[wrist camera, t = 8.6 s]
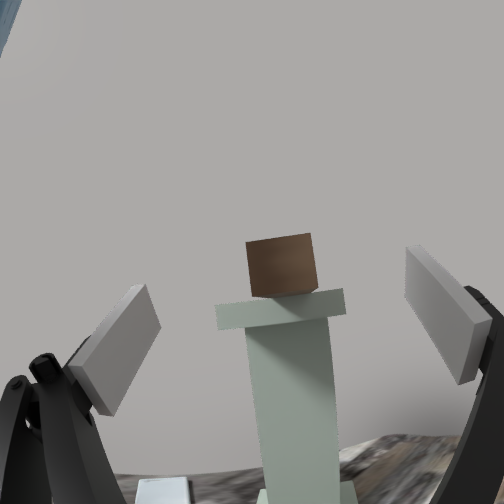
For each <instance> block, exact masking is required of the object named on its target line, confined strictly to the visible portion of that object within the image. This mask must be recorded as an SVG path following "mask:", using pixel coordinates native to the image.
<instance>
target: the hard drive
mask: <svg viewBox="0 0 504 504" xmlns="http://www.w3.org/2000/svg"><path fill="white" fill-rule="evenodd" d="M135 504H191V502H190V494H189V485H188V479H187V477H174V478H160V479H141V480H139V485H138V490H137V495H136V501H135Z"/></svg>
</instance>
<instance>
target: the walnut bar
mask: <svg viewBox="0 0 504 504" xmlns="http://www.w3.org/2000/svg"><path fill="white" fill-rule="evenodd" d="M246 249H247V259H248V266H249V275H250V284H251V292H252V297H262V298H279V297H286V296H293V295H300V294H308V293H311V292H313V291H314V290H315V289H317V288H318V281H317V274H316V267H315V260H314V254H313V247H312V240H311V234H310V233H305V234H299V235H292V236H285V237H278V238H271V239H265V240H258V241H251V242H246Z"/></svg>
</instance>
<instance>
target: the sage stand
mask: <svg viewBox="0 0 504 504" xmlns="http://www.w3.org/2000/svg"><path fill="white" fill-rule="evenodd" d="M215 308H216V317H217V326H218V330H225V329H236V328H245V335H246V343H247V351H248V359H249V367H250V375H251V382H252V390H253V398H254V405H255V412H256V421H257V428H258V435H259V442H260V450H261V457H262V464H263V471H264V478H265V485H266V489H261V490H260V493H259V497H258V501H257V504H358V500H357V496H356V492H355V488H354V484H353V480H351V481H345V482H340V472H339V448H338V447H339V446H338V428H337V412H336V399H335V386H334V375H333V365H332V354H331V345H330V336H329V327H328V318H327V317H330V316H337V315H343V314H346V309H345V302H344V294H343V288H341V289H334V290H328V291H321V292H314V293H308V294H300V295H293V296H286V297H279V298H271V299H263V300H255V301H247V302H238V303H230V304H221V305H215Z"/></svg>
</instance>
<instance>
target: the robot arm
mask: <svg viewBox="0 0 504 504" xmlns="http://www.w3.org/2000/svg"><path fill="white" fill-rule="evenodd" d="M21 1H22V0H0V57H1V53H2V51H3V48H4V46H5V44H6V42H7V39H8V36H9V34H10V31H11V28H12V25H13V23H14V20H15V17H16V15H17V12H18V9H19V7H20V4H21ZM405 298H406V300H407V301H408V303H409V304H410V306H411V307H412V309H413V310H414V312H415V314H416V315H417V317H418V318H419V320H420V321H421V323H422V325H423V326H424V328H425V329H426V331H427V333H428V334H429V336H430V338H431V339H432V341H433V342H434V344H435V346H436V348H437V349H438V351H439V353H440V354H441V356H442V358H443V359H444V361H445V363H446V365H447V367H448V368H449V370H450V372H451V374H452V375H453V377H454V379H455V381H456V383H457V384H458V385H461V384H464V383H467V382H470V381H473V380H475V377H476V374H477V371H478V368H479V369H480V370H481V372H482V373H483V377H482V380H481V382H480V385H479V388H478V390H477V393H476V395H477V396H476V399H475V402H474V405H473V408H472V411H471V413H470V416H469V419H468V422H467V424H466V427H465V430H464V432H463V435H462V437H461V440H460V442H459V444H458V447H457V449H456V451H455V454H454V456H453V458H452V460H451V462H450V464H449V467H448V469H447V471H446V473H445V475H444V477H443V479H442V481H441V483H440V484H439V486H438V488H437V490H436V492H435V494H434V496H433V497H432V499H431V501H430V503H429V504H493V503H494V501H495V499H496V496H497V493H498V491H499V488H500V485H501V483H502V480H503V477H504V316H503V315H502V314H501V313H500V312H499V311H498V310H497V309H496V308H495V307H494V306H493V305H492V304H491V303H490V302H489V301H488V300H487V299H486V298H485V297H484V296H483V294H482V293H480V291H478V290H477V289H474V288H472V287H471V286H465V287H463V286H462V285H461V284H459V282H458V281H457V280H456V279H455V278H454V277H453V276H452V275H451V274H450V273H449V272H447V270H446V269H445V268H443V267H442V266H441V265H440V264H439V263H438V262H437V261H436V260H435V259H434V258H433V257H432V256H431V255H430V254H429V253H427V251H426V250H424V249H423V248H422V247H421V246H420V245H417V246H411V247H406V278H405ZM160 329H161V326H160V323H159V320H158V318H157V315H156V313H155V310H154V307H153V304H152V302H151V299H150V296H149V293H148V290H147V287H146V284H141V285H133V286H132V287H131V288H130V289H129V291H128V292H127V293H126V294H125V295H124V296H123V298H122V299H121V300H120V301H119V302H118V303H117V305H116V306H115V307H114V308H113V310H112V311H111V312H110V313H109V314H108V315H107V317H106V318H105V319H104V320H103V321H102V323H101V324H100V325H99V326H98V328H97V329H96V330H95V331H94V333H93V334H92V335H90V336H89V337H88V338H86V339H85V340H84V341H83V343H82V344H81V345H80V348H78V349H77V350H76V352H75V353H74V354H73V355H72V357H71V358H70V359H69V360H68V362H67V363H66V364H65V366H64V367H63V368H61V366H60V365H59V363H58V361H57V359H56V358H55V356H54V354H52V353H45V354H42V355H40V356H38V357H36V358H35V359H34V360H33V361H32V362H31V363H30V365H29V369H30V371H31V372H32V374H33V376H34V377H35V379H36V380H37V382H38V383H34V384H31V383H30V382H29V380H28V379H27V377H26V376H24V375H19V376H16V377H14V378H12V379H11V380H10V381H9V382H8V384H7V385H6V388H5V390H4V392H3V395H2V398H1V401H0V504H52V498H53V502H54V504H126V501H125V499H124V497H123V495H122V493H121V490H120V488H119V486H118V484H117V481H116V479H115V476H114V474H113V472H112V469H111V466H110V464H109V462H108V459H107V456H106V453H105V451H104V448H103V445H102V442H101V439H100V436H99V433H98V430H97V428H96V424H95V421H94V418H93V416H92V414H91V413H90V411H89V410H90V409H91V407H92V405H93V406H94V407H95V409H96V410H97V412H98V413H99V415H106V416H114V415H115V413H116V411H117V409H118V407H119V405H120V403H121V401H122V400H123V397H124V396H125V394H126V392H127V390H128V388H129V386H130V384H131V382H132V381H133V379H134V377H135V375H136V373H137V371H138V369H139V367H140V366H141V364H142V362H143V360H144V358H145V356H146V355H147V353H148V351H149V349H150V347H151V345H152V343H153V342H154V340H155V338H156V336H157V335H158V333H159V331H160ZM26 420H27V421H28V422H29V423H30V427H29V428H28V427H27V425H26Z"/></svg>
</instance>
